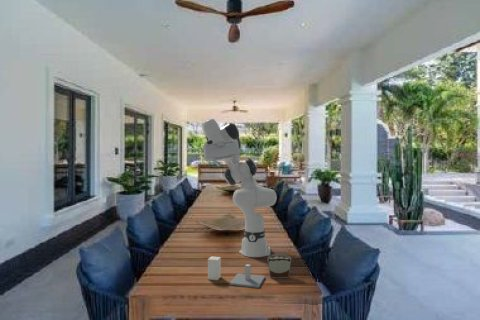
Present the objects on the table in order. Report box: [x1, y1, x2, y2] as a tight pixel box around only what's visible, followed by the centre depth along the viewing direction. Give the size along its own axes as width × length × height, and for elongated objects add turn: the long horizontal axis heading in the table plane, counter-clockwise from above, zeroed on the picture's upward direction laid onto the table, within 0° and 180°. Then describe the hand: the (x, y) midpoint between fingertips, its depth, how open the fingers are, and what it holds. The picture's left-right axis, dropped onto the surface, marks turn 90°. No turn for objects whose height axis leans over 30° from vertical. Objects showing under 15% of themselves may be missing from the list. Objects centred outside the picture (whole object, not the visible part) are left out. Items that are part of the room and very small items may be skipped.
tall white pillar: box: [207, 256, 222, 281], centre depth 205 cm, size 5×5×10 cm
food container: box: [267, 254, 293, 279], centre depth 208 cm, size 12×6×10 cm, turn 92°
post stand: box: [229, 263, 266, 289], centre depth 200 cm, size 14×14×8 cm
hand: (227, 164), depth 221 cm, fingers open, 8 cm apart
